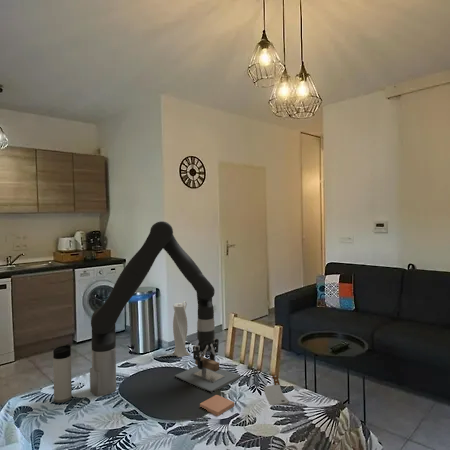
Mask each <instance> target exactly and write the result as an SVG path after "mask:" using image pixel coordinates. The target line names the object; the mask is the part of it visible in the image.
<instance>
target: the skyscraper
mask: <svg viewBox="0 0 450 450" xmlns="http://www.w3.org/2000/svg"><path fill="white" fill-rule="evenodd" d="M187 305H188V304H187V301H185V300H184V301H183V302H178V303H177V302H175V303H174V304H173V305H172V307H173V311H174V314H173V321H172V328H173V329H172V330H173V339H174V345H175V346H174V351H173V352H172V355H174V356H176V358H182V357H187V356H191V353H190V352H188V351H187V347H186V342H187V338H188V337H187V335H188V318H187V314H186V309H187Z"/></svg>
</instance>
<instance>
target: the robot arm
mask: <svg viewBox="0 0 450 450" xmlns="http://www.w3.org/2000/svg"><path fill="white" fill-rule="evenodd" d="M149 230H150V231H149V234H148V236H147V237H146V239H145V241H144V243H143V244H142V246H141V248H140V249H139V250H137V252H136V253H135V254H134V255H133V256H132V257H131V258H130V260H129V261H128V262H127V264H126V265H125V266H124V268H123V269H122V271H121V273H120V274H119V276H118V278H117V279H116V281H115V283H114V285H113V288H112V290H111V292H110V294H109V296H108V298H107V299H106V300H105V302H104V303H103V305H102V306H100V307H98V308H97V309H95V310H94V312H93V313H92V315H91V319H90V327H91V367H90V368H89V391H90V393H92V394H93V395H95V396H96V397H100V396H105V395H106V396H107V395H111V394H112V393H114V392H115V391H116V390H117V354H116V353H117V348H116V347H117V346H116V345H117V344H116V343H117V341H116V340H117V339H116V335H117V334H116V333H117V332H116V324H117V321H118V319H119V317H120V316H121V314H122V312H123V310H124V308H125V307H126V305H127V304H128V302H130V300H131V299H132V297H133V296H134V294H135V293H136V292H137V290H138V289H139V287H140V286H141V285H142V283H143V282H144V281H145V279H146V277H147V276H148V273H150V270H151V268H152V267H153V265H154V262H155V260H156V258H158V256H159V254H160V253H161V252H162V250H164V251H165V252H166V253H167V255H168V256H169V257H170V258H171V260H172V261H173V263H174V264H175V265H176V267H177V268H178V270H179V271H180V272H181V274H182V275H183V276H184V278H185V279H186V280H187V281H188V283H190V285H191V287H192V288H193V289H194V291H195V292H196V301H197V322H196V324H197V325H196V327H197V328H196V329H197V330H196V332H197V333H196V334H197V335H196V337H197V340H198V344H197V345H193V346H192V356H193V360H194V361H195V360H197V365H196V366H198V368H199V369H203V361H202V360H203V357H204V356H206V354H207V353H209V359H210V360H213V361H216V357H215V355H216V354H217V353H219V345H220V343H219V342H220V340H219V338H216V336H215V335H216V334H215V331H216V330H215V329H216V328H215V324H216V323H215V308H214V304H213V297H214V296H215V291H216V290H215V288H214V286H213V285H212V284H211V282H210V280H208V279H207V277H205V275H204V274H203V272H202V271H201V269H200V267H199V266H198V265H197V264H196V263H195V261H194V260H193V258H192V257H190V256H189V254H188V253H187V252H186V251H185V250H184V249H183V247H182V246H181V245H180V244H179V242H178V241H177V239H176V237H175V235H174V229H173V227H172V225H171V224H170V223H169V222H166V221H161V220H160V221H156V222H155V223H153V224H152V225H151V227H150V229H149ZM200 356H201V357H200ZM204 358H205V357H204Z"/></svg>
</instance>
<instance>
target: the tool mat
mask: <svg viewBox="0 0 450 450" xmlns="http://www.w3.org/2000/svg"><path fill="white" fill-rule="evenodd" d="M206 369H207V368H206ZM200 370H202V369H199V368H198V366H197V365H195V366H194V367H193V366H192V367H190V368H188V369H186V370H184V371H182V372H179V373H177V374H174V377H175V376H176V377H179V378H181V379H183V380H186V381H188V382H191V383H193V384H196V385H198V386H200V387H202V388H205V389H207V390H209V391H213V390H216V389H219V390H220V389H223V388H224V387H226V386H228V385H230V384H231V383H234V382H235V381H237V380H239V379H241V375H239V374H237V373H233V372H231V371H228V370H225V369H222V368H220V367H219V370H218V371H216V372H215V371H212V370H210V371H212V372H215V373H218V374H221V375H223V376H225V378H223V379H221V380H219V381H217V382H215V383H212V382H209V381H207V380H204V379H202V378H199V377H197V376H194V375H193V374H194V373H196V372H198V371H200ZM207 370H209V369H207Z"/></svg>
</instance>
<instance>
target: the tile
mask: <svg viewBox="0 0 450 450" xmlns="http://www.w3.org/2000/svg"><path fill="white" fill-rule="evenodd" d="M200 407H202V408H204V409H206V410H207V411H206V410H205V411H206V412H208V413H210V414H213V415H215V416H217V417H219V416H220V415H222V414H223V413H225V412H227V411H229V410H230V409H232V408H233V407H235V401H232V400H230V399H228V398H226V397H223V396H221V395H219V394H215V395H213V396H211V397H210V398H207V399H206V400H204V401H201V403H199V408H200ZM202 408H201V409H202ZM204 409H203V410H204Z"/></svg>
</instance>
